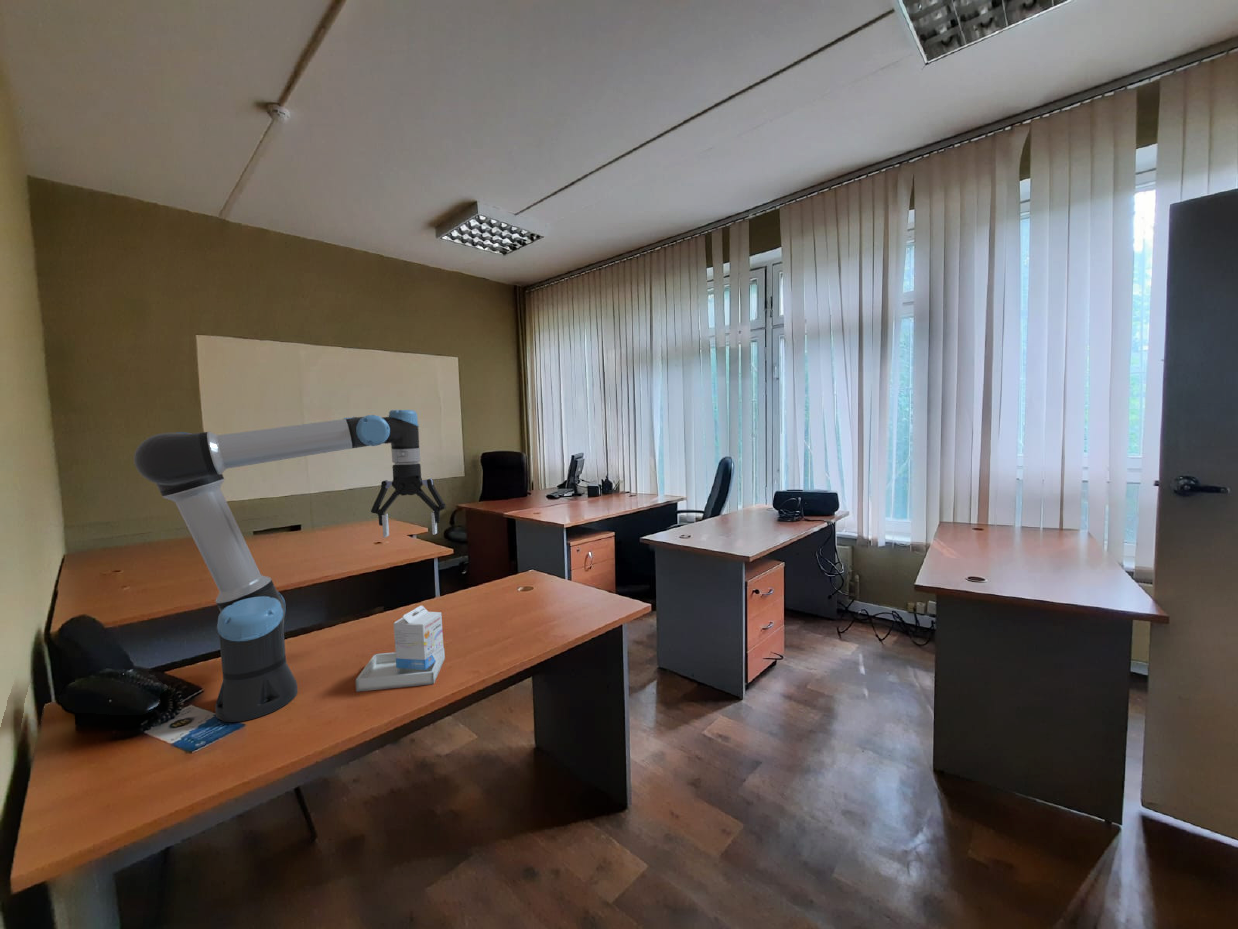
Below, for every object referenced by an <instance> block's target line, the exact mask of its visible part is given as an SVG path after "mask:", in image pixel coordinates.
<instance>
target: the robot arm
mask: <svg viewBox="0 0 1238 929" xmlns="http://www.w3.org/2000/svg"><path fill="white" fill-rule="evenodd" d="M419 426H420V425H419V421H418V414H417V412H416V411H415V410H414V409H412V410H411V409H396V410H395V409H392V410H390V411H389V412H388V416H386V417H385V416H382V417H381V416H379V415H376V414H369V415H365V416H358V417H357V416H352V417H344V418H341V419H336V420H335V419H334V420H328V421H327V420H326V421H319V422H311V423H310V422H309V423H302V424H297V425H287V426H279V427H272V428H265V429H264V428H263V429H256V430H249V431H242V432H233V433H225V434H215V433H213V432H211V431H204V432H194V433H189V432H184V431H177V432H162V433H158V434H154V435H152V436H149V437H148V438H146V439H144V440H143V441H142V442H141V443H140V444H139V445H138V446H137V448H136V450H135V452H134V456H133V460H134V461H133V462H134V466H135V468H136V470H137V472H138V473H139V474H140V475H141V476H142V477H143V478H145V479H146V480H148V481H149V482H151V483H154V484H155V485H156V486H157V488H158V491H159V492H160V494H161V497H162V498H163V499H167V500H169V501H173V502H174V503H175V505H176V508H177V509H178V511H179V513H180V515H181V517H182V519H183V520H184V522H185V525H186V527H187V529H188V531H189V533H190V535H191V537H192V539H193V541H194V543H195V545H196V547H197V549H198V550H199V553H200V555H201V557H202V559H203V561H204V563H205V565H206V567H207V569H208V571H209V573H210V576H211V577H212V580H214V583H215V585H216V587H217V588H218V589H217V590H218V591H219V593H218V595H217V596H216V599H215V603H216V605H217V607H218V610H219V612H220V613H219V615H218V617H217V623H216V624H217V626H216V630H217V633H218V636H219V648H220V659H221V660H220V661H221V670H222V682H221V685H220V689H219V692H218V696H217V699H216V702H215V706H214V708H215V717H216V719H217V718H218V719H220V720H222V721H221V722H226V723H238V722H245V721H250V720H253V719H254V720H255V719H258V718H260V717H261V718H262V717H263V716H266V715H268V714H269V715H270V714H271V713H273V712H276V711H277V710H280V709H282V708H284V707H285V706H287V705H288V704H289V703H291V702H292V701H293V700H294V699H295V698H296V696H297V695H298V692H299V691H298V682H297V680H296V678H295V677H294V675H293V673H292V671H291V669H290V666H289V665H288V663H287V657H286V644H285V642H286V641H285V630H284V627H285V616H286V611H287V609H286V601H285V598H284V596H283V595H282V594H281V593H280V591H278V590H277V588H276V586H275V584H274V582H273V580H272V578H271V577H270V576H266V575H263V574H261V572H260V570H259V567H258V565H257V563H256V561H255V559H254V556H253V555H252V553H251V550H250V549H249V546H248V544H247V542H246V539H245V538H244V536H243V534H242V532H241V529H240V527H239V525H238V523H237V521H236V518H235V517H234V515H233V513H232V512H233V511H232V510H231V508H230V506H229V504H228V502H227V500H226V498H225V495H224V493H223V492H222V489H221V487H222V485H223V483H224V481H225V480H226V479H225V477H224V475H223V473H224V471H226V470H229V469H235V468H240V467H241V468H242V467H245V466H246V467H247V466H251V465H259V464H264V463H265V464H266V463H271V462H277V461H284V460H289V459H296V458H301V457H308V456H314V455H320V454H326V453H333V452H339V451H344V450H349V449H350V450H351V449H358V448H363V447H364V448H365V447H370V446H371V447H376V446H380V445H382V444H390V448H391V450H390V451H391V462H392V463H393V464H392V465H391V467H392V468H391V469H392V478H393V479H392V480H391V481H389V480H387V479H385V480H382V481H381V484H380V490H379V492H378V495H377V496H376V498H375V501H374V503H373V506H372V508H371V509H370V512H371V514H376V515H377V516H378V526H382V537H383V538H387V537H388V536H390V526H389V515H388V514H389V513H386V512H387V510H388V509H389V508H390V506H391V505H392V504H393V503H394V502H395V501H396V500H397V498H398V497H399V496H407V495H408V496H414V495H417V497H419V498H420V499H421V500H422V501H423V502H424V503H425V504H426V505H427V506H428V507H429V508H430V509H431V510H432V512H430V514H431V532H432V535H436V534H438V523H440V521H441V511H443V510H445V509H446V508H447V506H446V504H445V502H444V501H443V499H442V496H440V494H439V492H438V490H437V488H436V487H435V484H434V480H433V478H428V479H423V478H422V468H421V466H422V465H421V464H420V463H419V462H420V461H421V452H420V435H419V434H420V433H419ZM423 485H424V486H425V487H426V488H428V490H429V492H430V493H431V494H430V495H432V497H433V499H431V498H430V497H429V495H427V494H426V492H425V491H424V490H423V489H422V486H423ZM391 486H392V487H393V488H394V491H393V492H392V494H391V495H390V496H389V497H388V499H386V500H387V501H385V503H384V504H383V505H382V502H383V500H384V498H385V497H386V495H387V492H388V489H390V488H391ZM434 501H435V502H434ZM381 505H382V506H381ZM380 507H381V508H380ZM218 719H217V720H218ZM220 720H219V721H220Z"/></svg>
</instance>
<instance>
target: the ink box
mask: <svg viewBox="0 0 1238 929" xmlns="http://www.w3.org/2000/svg"><path fill="white" fill-rule="evenodd" d="M393 634H394V635H393V636H394V649H395V653H396V668H404V669H421V670H426V669H427V668H428V667H430V666H431V665H432V664H433V663H434V662H436V661H437V660H438V659H439V658H440V657H441V656H443V655H444V651H445V647H444V637H443V636H444V634H443V617H442V612H440V611H428V610H427V609H426V607H425V606H424V605H419V606H417V607H415V608H414V609H412V610H411V611H409V612H406V613H404V615H403V616H402V617H401V618H399V619H398V620H396V621H395V622H394V621H393Z"/></svg>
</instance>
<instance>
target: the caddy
mask: <svg viewBox="0 0 1238 929" xmlns="http://www.w3.org/2000/svg"><path fill="white" fill-rule="evenodd" d="M445 659H446V656H445V650H444V655H443V656H441V657H440V658H439V659H438V660H437V661H436V662H434V663H433V664H432V665H431V666H430V667H428V668H427V669H426V670H421V669H404V668H396V653H395V652H394V651H393V652H384V653H374V655H373V656H372V657H371V659H370V660H369V662H367V664H366V665H365V666H364V668H362V669H363V670H362V671H361V672H360V673H359V674H358V676H357V677H356V678H355V690H356V691H355V692H356V693H357V692H368V691H377V690H387V689H399V688H407V687H409V688H410V687H417V686H418V687H419V686H427V685H434V684H435V682H436V679H437V677H438V676H439V673H440V671H441V669H442V666H443V664H444V662H445Z"/></svg>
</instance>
